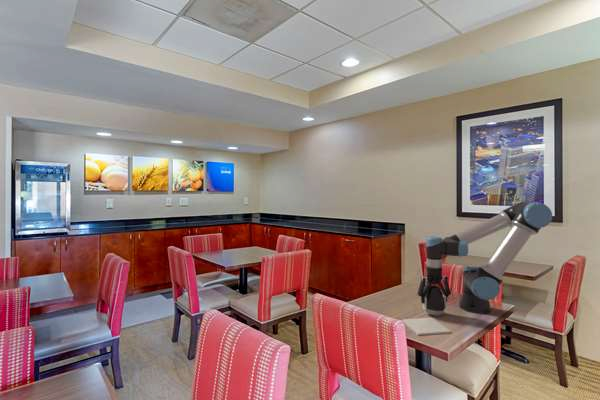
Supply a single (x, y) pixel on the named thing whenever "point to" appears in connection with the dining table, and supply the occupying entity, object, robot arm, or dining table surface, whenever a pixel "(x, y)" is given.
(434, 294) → the pump dispenser
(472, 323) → the dining table surface
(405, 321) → the ceramic tile
